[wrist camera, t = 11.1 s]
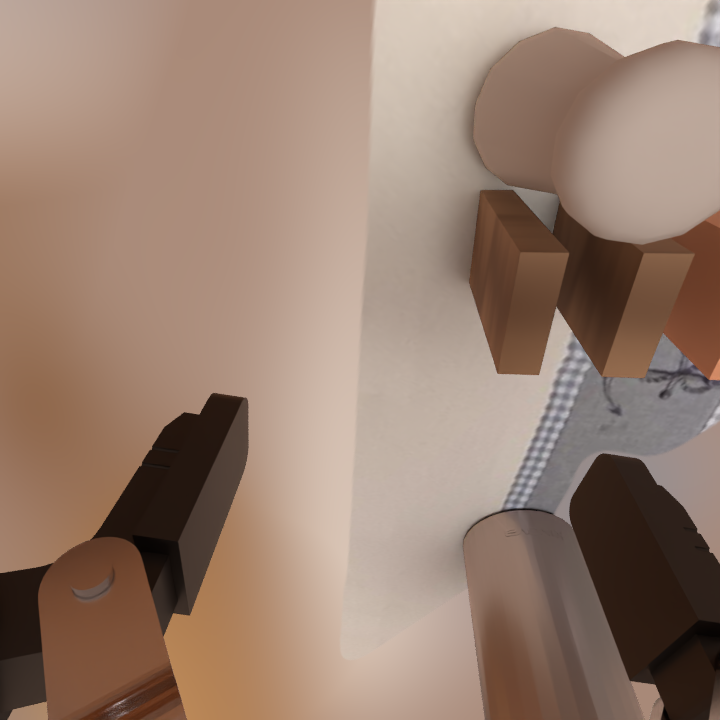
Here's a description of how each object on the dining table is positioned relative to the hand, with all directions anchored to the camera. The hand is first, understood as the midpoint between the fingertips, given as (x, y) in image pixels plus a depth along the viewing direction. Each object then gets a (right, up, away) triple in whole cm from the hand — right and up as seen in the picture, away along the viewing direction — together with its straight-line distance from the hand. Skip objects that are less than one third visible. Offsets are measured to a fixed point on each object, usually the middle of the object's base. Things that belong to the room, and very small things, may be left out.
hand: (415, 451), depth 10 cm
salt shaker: (+7, +14, +10) cm, 18 cm away
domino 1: (+6, +9, +14) cm, 17 cm away
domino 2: (+10, +8, +13) cm, 18 cm away
